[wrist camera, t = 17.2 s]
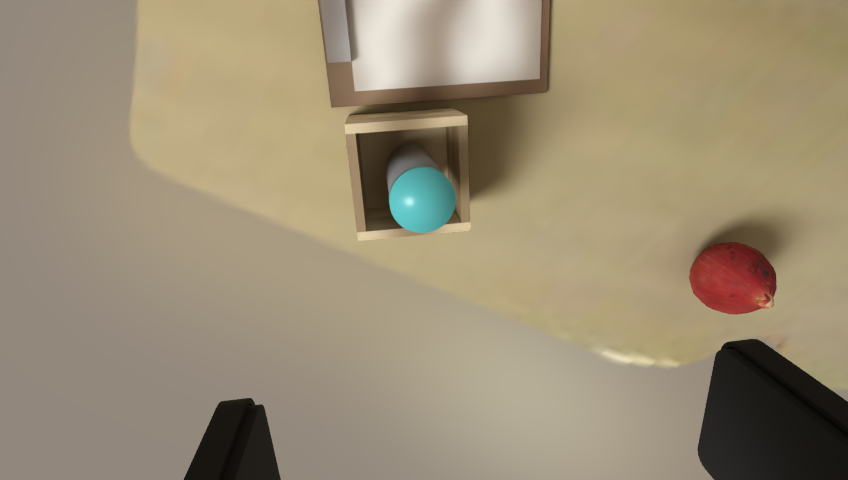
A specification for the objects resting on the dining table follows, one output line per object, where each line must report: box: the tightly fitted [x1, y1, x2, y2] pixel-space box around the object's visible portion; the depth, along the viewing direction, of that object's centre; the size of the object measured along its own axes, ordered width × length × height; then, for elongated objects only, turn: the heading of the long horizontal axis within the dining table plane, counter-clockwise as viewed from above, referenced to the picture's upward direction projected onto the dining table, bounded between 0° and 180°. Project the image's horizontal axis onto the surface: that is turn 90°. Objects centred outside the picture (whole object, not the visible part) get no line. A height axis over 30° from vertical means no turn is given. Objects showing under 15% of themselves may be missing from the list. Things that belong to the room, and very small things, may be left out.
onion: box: [689, 242, 776, 314], centre depth 38 cm, size 6×6×8 cm
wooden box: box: [344, 108, 470, 241], centre depth 33 cm, size 8×8×6 cm
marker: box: [385, 144, 456, 233], centre depth 31 cm, size 4×4×10 cm
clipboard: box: [318, 0, 550, 108], centre depth 32 cm, size 16×12×1 cm
